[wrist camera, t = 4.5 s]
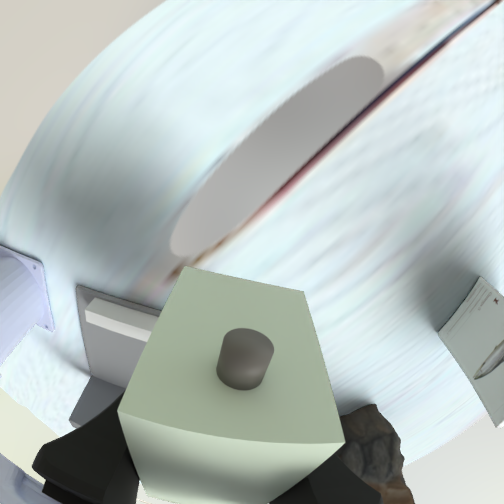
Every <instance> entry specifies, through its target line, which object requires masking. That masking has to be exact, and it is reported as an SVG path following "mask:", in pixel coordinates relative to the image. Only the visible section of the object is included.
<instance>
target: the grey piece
mask: <svg viewBox="0 0 504 504" xmlns="http://www.w3.org/2000/svg"><path fill="white" fill-rule="evenodd" d="M76 295H77V303H78V310H79V317H80V323H81V329H82V334H83V339H84V344H85V349H86V354H87V358H88V362H89V367H90V371H91V374H92V376H91V378H90V380H89V382H88V383H87V385H86V387H85V389H84V391H83V393H82V395H81V397H80V398H79V400H78V402H77V404H76V406H75V408H74V410H73V412H72V414H71V416H70V418H69V421H70V423H71V425H72V426H73V427H75V428H79V427H81V426H82V425H84V424H85V423H87V422H88V421H90V420H91V419H92V418H94V417H95V416H97V415H98V414H99V413H101V412H102V411H103V410H104V409H106V408H107V407H108V406H109V405H110V404H111V403H112V402H114V401H115V400H116V399H117V398H118V397H119V396H120V395H121V394H122V393H123V392H124V391H125V390H126V388H127V386H128V384H129V381H130V379H131V377H132V374H133V372H134V370H135V368H136V365H137V363H138V361H139V359H140V356H141V354H142V352H143V350H144V348H145V345H146V343H147V341H148V339H149V337H150V335H151V333H152V330H153V328H154V326H155V324H156V322H157V320H158V318H159V316H160V314H161V312H162V311H160V310H156V309H153V308H149V307H146V306H142V305H139V304H135V303H132V302H129V301H126V300H122V299H119V298H116V297H113V296H110V295H107V294H104V293H100V292H98V291H95V290H92V289H89V288H86V287H83V286H80V285H78V286H77V287H76Z"/></svg>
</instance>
